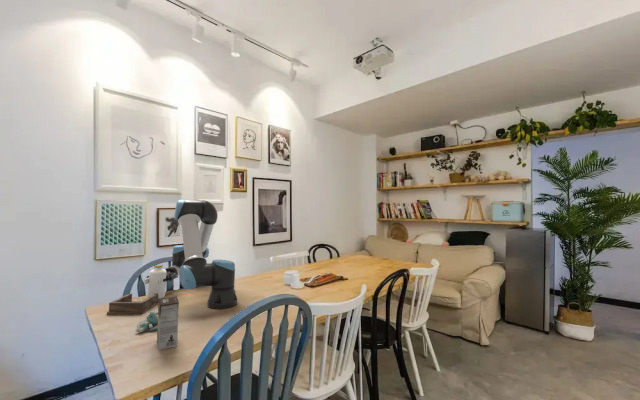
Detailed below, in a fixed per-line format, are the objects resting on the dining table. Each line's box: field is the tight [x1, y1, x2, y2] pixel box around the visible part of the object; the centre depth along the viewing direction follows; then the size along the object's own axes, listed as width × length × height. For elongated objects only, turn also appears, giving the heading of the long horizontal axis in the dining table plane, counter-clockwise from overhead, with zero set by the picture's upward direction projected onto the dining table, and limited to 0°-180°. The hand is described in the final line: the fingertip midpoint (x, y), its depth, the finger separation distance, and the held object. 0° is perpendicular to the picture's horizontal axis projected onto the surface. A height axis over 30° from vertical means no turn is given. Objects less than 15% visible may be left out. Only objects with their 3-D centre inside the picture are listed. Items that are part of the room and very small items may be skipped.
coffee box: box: [156, 295, 180, 351], centre depth 106 cm, size 9×6×16 cm
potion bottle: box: [147, 264, 167, 300], centre depth 158 cm, size 8×8×18 cm
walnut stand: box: [106, 293, 159, 315], centre depth 142 cm, size 16×16×5 cm
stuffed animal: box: [135, 311, 158, 333], centre depth 119 cm, size 11×7×12 cm
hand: (151, 281), depth 153 cm, fingers closed on potion bottle, 6 cm apart
